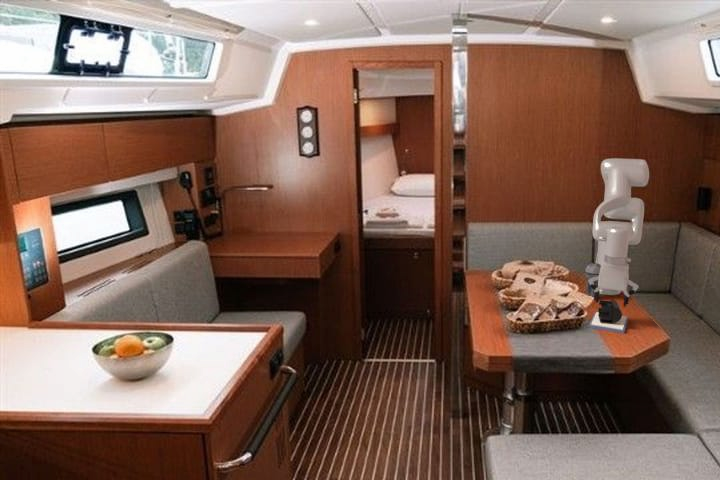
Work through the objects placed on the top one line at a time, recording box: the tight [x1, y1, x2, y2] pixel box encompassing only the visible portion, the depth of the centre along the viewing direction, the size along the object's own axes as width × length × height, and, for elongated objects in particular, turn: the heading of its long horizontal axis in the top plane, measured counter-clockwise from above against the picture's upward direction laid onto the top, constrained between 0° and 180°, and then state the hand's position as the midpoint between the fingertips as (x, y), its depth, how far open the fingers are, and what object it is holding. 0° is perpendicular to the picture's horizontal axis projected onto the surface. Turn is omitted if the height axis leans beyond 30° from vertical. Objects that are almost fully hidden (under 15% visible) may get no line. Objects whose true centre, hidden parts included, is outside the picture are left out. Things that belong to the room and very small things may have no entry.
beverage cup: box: [584, 252, 601, 301], centre depth 247 cm, size 7×7×20 cm
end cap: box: [597, 299, 623, 324], centre depth 219 cm, size 10×7×7 cm
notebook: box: [588, 311, 629, 334], centre depth 220 cm, size 16×12×1 cm
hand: (610, 303), depth 219 cm, fingers open, 9 cm apart
